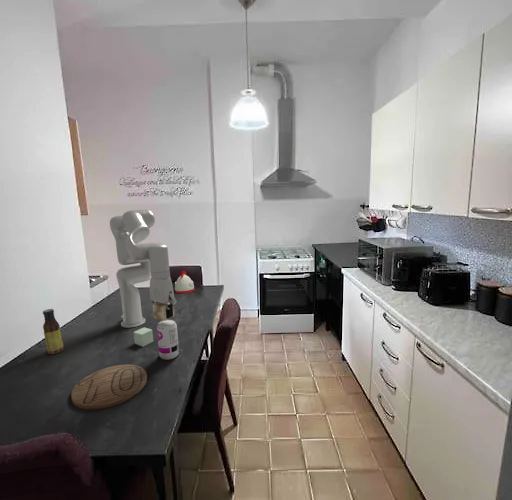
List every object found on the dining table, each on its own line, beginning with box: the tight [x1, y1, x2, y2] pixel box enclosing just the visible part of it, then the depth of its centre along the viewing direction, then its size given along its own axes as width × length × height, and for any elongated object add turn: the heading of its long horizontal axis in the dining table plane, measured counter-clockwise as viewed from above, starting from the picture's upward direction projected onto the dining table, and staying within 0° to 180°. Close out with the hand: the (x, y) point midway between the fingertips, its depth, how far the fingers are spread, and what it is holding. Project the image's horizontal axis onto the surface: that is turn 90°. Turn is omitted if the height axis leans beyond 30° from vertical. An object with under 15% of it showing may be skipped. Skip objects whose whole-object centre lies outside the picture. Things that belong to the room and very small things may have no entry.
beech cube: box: [152, 303, 176, 322], centre depth 130 cm, size 6×6×6 cm
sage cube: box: [133, 327, 154, 347], centre depth 147 cm, size 6×6×6 cm
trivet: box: [70, 364, 148, 411], centre depth 113 cm, size 25×25×2 cm
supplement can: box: [156, 319, 180, 361], centre depth 133 cm, size 8×8×15 cm
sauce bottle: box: [42, 308, 64, 355], centre depth 140 cm, size 7×6×20 cm
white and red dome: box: [174, 270, 195, 294], centre depth 227 cm, size 14×14×15 cm
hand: (164, 315), depth 131 cm, fingers closed on beech cube, 6 cm apart
